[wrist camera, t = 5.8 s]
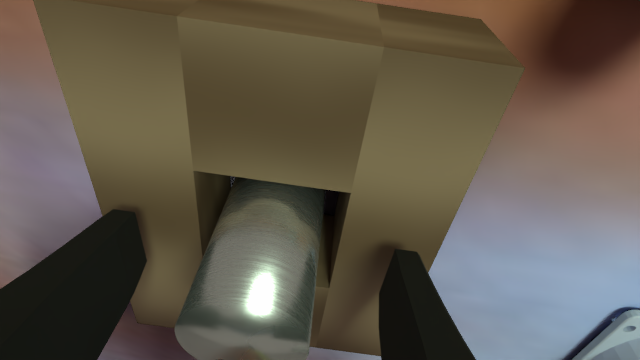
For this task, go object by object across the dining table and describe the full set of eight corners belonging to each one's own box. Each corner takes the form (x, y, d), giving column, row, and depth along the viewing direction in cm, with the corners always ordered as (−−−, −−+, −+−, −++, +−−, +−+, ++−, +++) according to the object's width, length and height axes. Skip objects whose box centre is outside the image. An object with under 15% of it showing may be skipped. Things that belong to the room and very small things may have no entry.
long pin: (320, 199, 15) (299, 383, 9) (245, 186, 15) (179, 365, 9) (334, 134, 13) (318, 316, 8) (248, 119, 13) (168, 293, 8)
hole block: (383, 284, 18) (388, 357, 15) (171, 254, 18) (137, 323, 15) (480, 19, 10) (524, 68, 8) (117, -36, 10) (31, -6, 8)
